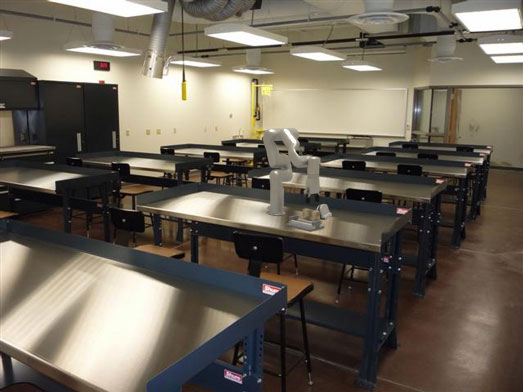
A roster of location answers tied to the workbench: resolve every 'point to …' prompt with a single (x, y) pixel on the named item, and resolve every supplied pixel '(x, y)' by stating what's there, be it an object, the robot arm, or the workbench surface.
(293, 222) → the track board
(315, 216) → the door panel
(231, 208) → the workbench surface
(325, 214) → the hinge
